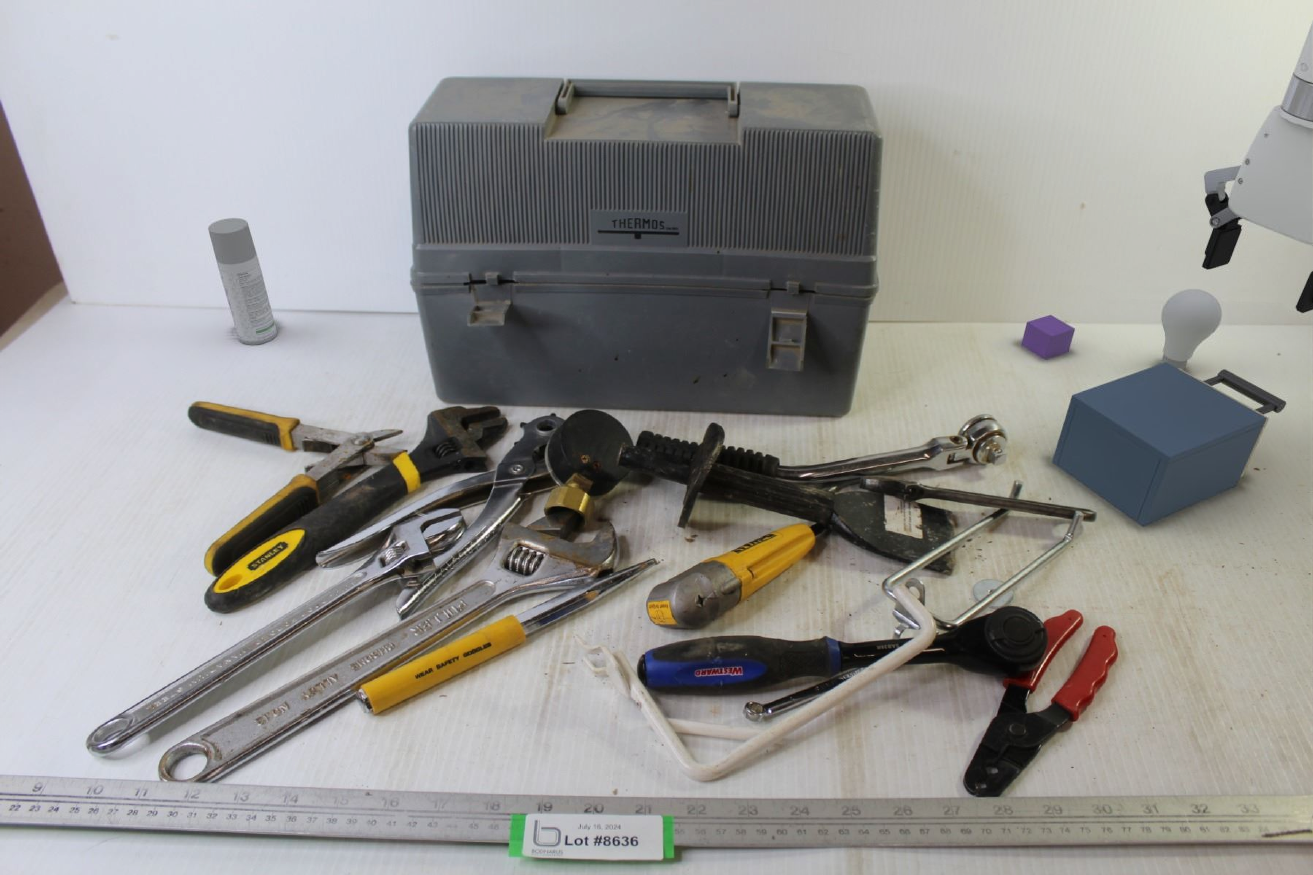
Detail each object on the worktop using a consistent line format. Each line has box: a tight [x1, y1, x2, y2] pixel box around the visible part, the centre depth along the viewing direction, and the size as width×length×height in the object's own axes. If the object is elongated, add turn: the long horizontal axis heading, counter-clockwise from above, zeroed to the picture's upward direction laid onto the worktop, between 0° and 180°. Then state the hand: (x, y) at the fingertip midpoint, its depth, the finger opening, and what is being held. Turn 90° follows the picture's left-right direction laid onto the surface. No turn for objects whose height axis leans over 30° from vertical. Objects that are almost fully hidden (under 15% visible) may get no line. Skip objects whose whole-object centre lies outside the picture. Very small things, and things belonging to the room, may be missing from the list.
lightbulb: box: [1160, 288, 1223, 371], centre depth 113 cm, size 6×6×11 cm
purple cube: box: [1020, 314, 1076, 361], centre depth 119 cm, size 4×4×4 cm
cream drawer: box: [1179, 368, 1287, 478], centre depth 99 cm, size 18×10×7 cm, turn 118°
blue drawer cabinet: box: [1051, 362, 1267, 528], centre depth 97 cm, size 14×12×9 cm
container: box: [207, 217, 278, 346], centre depth 119 cm, size 5×5×15 cm
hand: (1259, 286), depth 91 cm, fingers open, 9 cm apart
